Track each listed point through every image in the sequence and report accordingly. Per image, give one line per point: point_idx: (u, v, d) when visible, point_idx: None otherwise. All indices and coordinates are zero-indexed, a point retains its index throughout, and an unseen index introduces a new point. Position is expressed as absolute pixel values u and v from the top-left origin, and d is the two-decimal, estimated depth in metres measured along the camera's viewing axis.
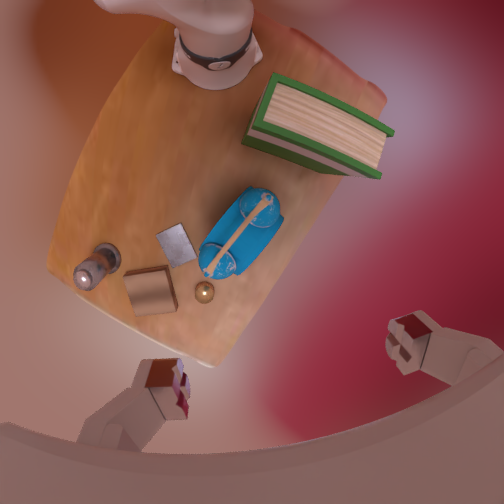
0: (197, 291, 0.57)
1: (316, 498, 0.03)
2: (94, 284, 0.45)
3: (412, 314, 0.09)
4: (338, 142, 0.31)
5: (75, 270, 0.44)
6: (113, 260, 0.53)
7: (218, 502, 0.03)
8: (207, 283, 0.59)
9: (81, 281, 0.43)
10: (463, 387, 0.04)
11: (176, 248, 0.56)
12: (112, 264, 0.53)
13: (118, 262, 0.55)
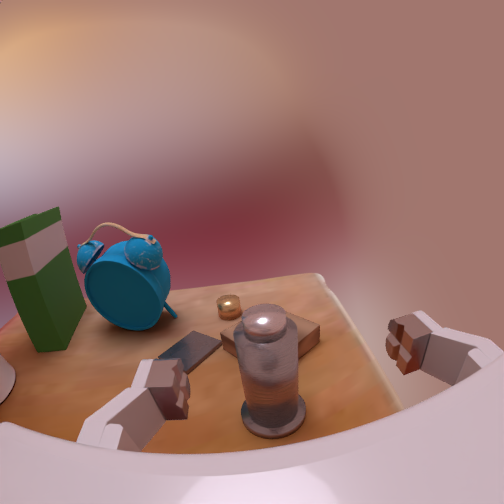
0: (227, 304, 0.46)
1: (316, 498, 0.03)
2: None
3: (412, 314, 0.09)
4: None
5: (265, 348, 0.20)
6: None
7: (218, 502, 0.03)
8: (218, 312, 0.47)
9: (264, 314, 0.22)
10: (463, 387, 0.04)
11: (192, 347, 0.38)
12: None
13: None
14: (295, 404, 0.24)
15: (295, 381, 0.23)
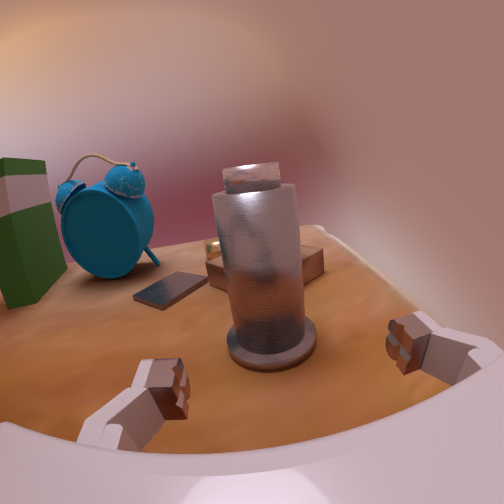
0: (215, 243, 0.41)
1: (316, 498, 0.03)
2: None
3: (412, 314, 0.09)
4: None
5: (253, 193, 0.15)
6: None
7: (218, 502, 0.03)
8: (206, 255, 0.42)
9: None
10: (463, 387, 0.04)
11: (173, 285, 0.33)
12: None
13: None
14: (301, 314, 0.19)
15: (298, 268, 0.18)
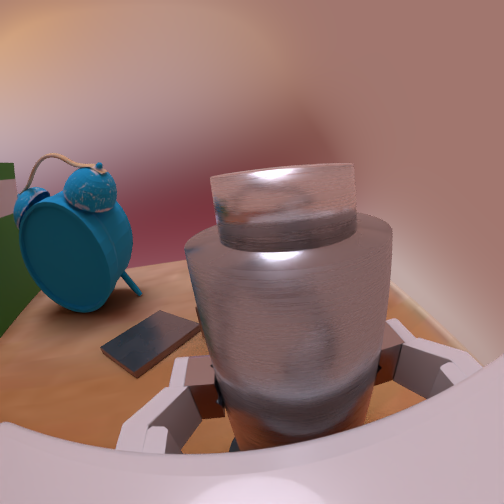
0: None
1: (316, 498, 0.03)
2: None
3: (385, 322, 0.09)
4: None
5: (302, 262, 0.05)
6: None
7: (218, 502, 0.03)
8: None
9: (284, 167, 0.07)
10: (463, 387, 0.04)
11: (153, 334, 0.23)
12: None
13: None
14: None
15: (371, 391, 0.07)
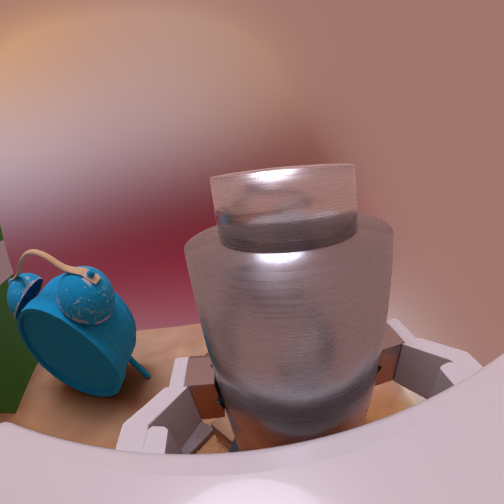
0: None
1: (316, 498, 0.03)
2: None
3: None
4: None
5: (303, 263, 0.05)
6: None
7: (218, 502, 0.03)
8: None
9: None
10: (463, 387, 0.04)
11: None
12: None
13: None
14: None
15: (371, 392, 0.07)
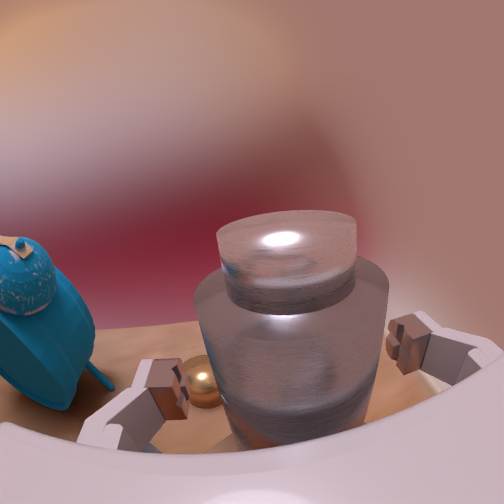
0: (198, 383, 0.20)
1: (316, 498, 0.03)
2: None
3: (412, 314, 0.09)
4: None
5: (304, 330, 0.05)
6: None
7: (218, 502, 0.03)
8: None
9: (288, 222, 0.07)
10: (463, 387, 0.04)
11: None
12: None
13: None
14: None
15: (364, 416, 0.08)
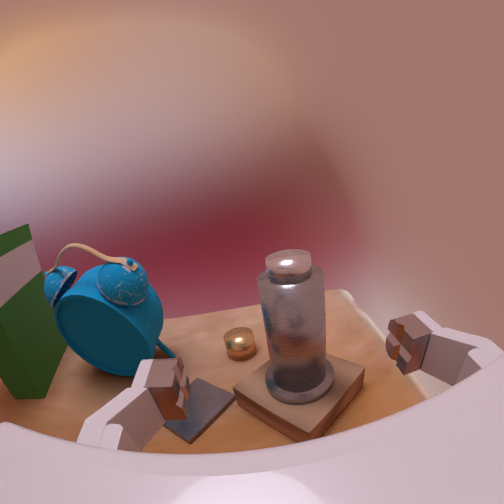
0: (237, 342, 0.34)
1: (316, 498, 0.03)
2: None
3: (412, 314, 0.09)
4: None
5: (293, 288, 0.20)
6: None
7: (218, 502, 0.03)
8: (227, 351, 0.36)
9: (288, 256, 0.22)
10: (464, 386, 0.04)
11: (197, 404, 0.27)
12: None
13: None
14: (324, 362, 0.23)
15: (323, 332, 0.22)
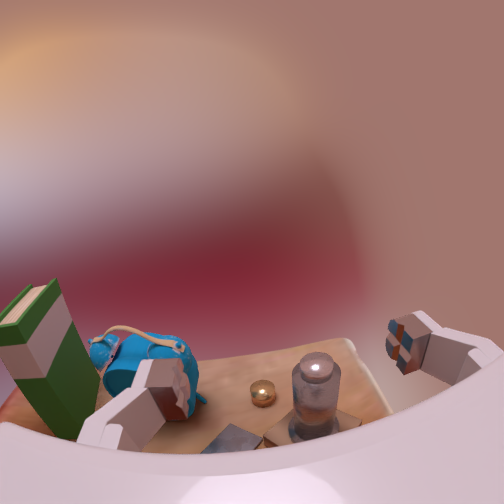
0: (262, 395, 0.39)
1: (316, 498, 0.03)
2: None
3: (412, 314, 0.09)
4: (35, 299, 0.34)
5: (320, 388, 0.25)
6: None
7: (218, 502, 0.03)
8: (252, 399, 0.41)
9: (317, 361, 0.27)
10: (463, 387, 0.04)
11: (233, 446, 0.32)
12: None
13: None
14: (333, 422, 0.28)
15: (336, 406, 0.27)
